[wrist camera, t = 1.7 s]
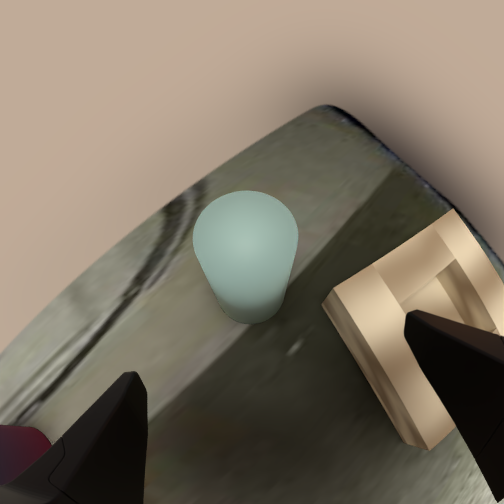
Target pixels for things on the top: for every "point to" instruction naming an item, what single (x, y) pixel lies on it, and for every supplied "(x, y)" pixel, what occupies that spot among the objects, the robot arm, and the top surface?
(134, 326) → the top surface
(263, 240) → the peg
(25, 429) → the cup
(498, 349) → the robot arm
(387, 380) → the socket
